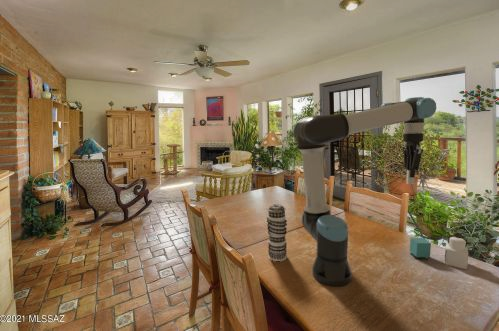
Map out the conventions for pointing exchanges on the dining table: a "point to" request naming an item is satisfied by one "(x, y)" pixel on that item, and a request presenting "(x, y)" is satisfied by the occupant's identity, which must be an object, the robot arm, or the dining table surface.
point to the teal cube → (420, 247)
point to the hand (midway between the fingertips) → (410, 183)
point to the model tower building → (277, 232)
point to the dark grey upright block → (419, 257)
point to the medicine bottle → (456, 252)
